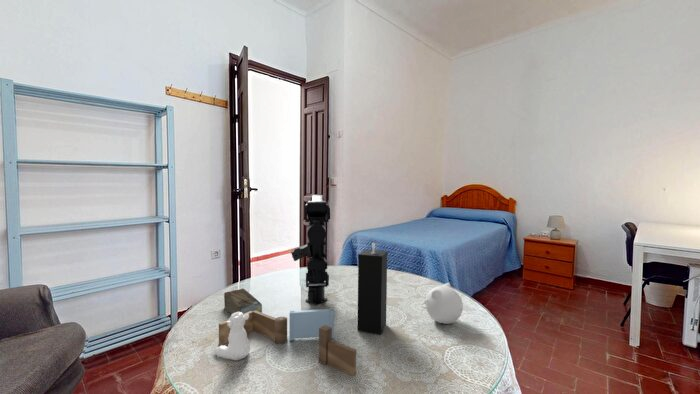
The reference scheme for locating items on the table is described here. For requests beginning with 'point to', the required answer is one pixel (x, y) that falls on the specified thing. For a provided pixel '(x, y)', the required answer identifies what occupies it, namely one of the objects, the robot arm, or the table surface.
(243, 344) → the sitting furry creature
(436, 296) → the cat head
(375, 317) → the black pillar candle
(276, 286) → the table surface
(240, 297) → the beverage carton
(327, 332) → the pen fence
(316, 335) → the gate
